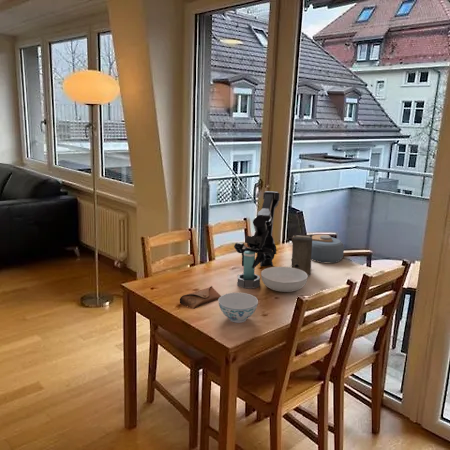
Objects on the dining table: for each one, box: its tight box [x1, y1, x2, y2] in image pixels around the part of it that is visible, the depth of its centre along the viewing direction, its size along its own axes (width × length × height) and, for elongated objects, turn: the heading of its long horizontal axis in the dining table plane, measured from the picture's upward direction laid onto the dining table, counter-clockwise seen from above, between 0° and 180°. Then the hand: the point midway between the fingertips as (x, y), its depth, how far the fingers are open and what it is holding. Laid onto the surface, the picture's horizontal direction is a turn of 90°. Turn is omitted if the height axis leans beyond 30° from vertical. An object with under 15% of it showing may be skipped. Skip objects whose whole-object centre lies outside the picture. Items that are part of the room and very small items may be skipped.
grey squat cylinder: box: [311, 234, 345, 263], centre depth 246 cm, size 19×20×12 cm
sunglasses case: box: [179, 285, 222, 310], centre depth 189 cm, size 18×7×7 cm
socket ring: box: [236, 273, 261, 289], centre depth 207 cm, size 10×10×4 cm
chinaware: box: [217, 292, 259, 324], centre depth 172 cm, size 15×15×8 cm
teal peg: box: [242, 251, 256, 280], centre depth 205 cm, size 5×5×13 cm
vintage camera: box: [290, 234, 313, 276], centre depth 224 cm, size 10×16×20 cm, turn 174°
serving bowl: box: [260, 266, 309, 293], centre depth 203 cm, size 21×21×7 cm
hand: (247, 266), depth 204 cm, fingers closed on teal peg, 5 cm apart
